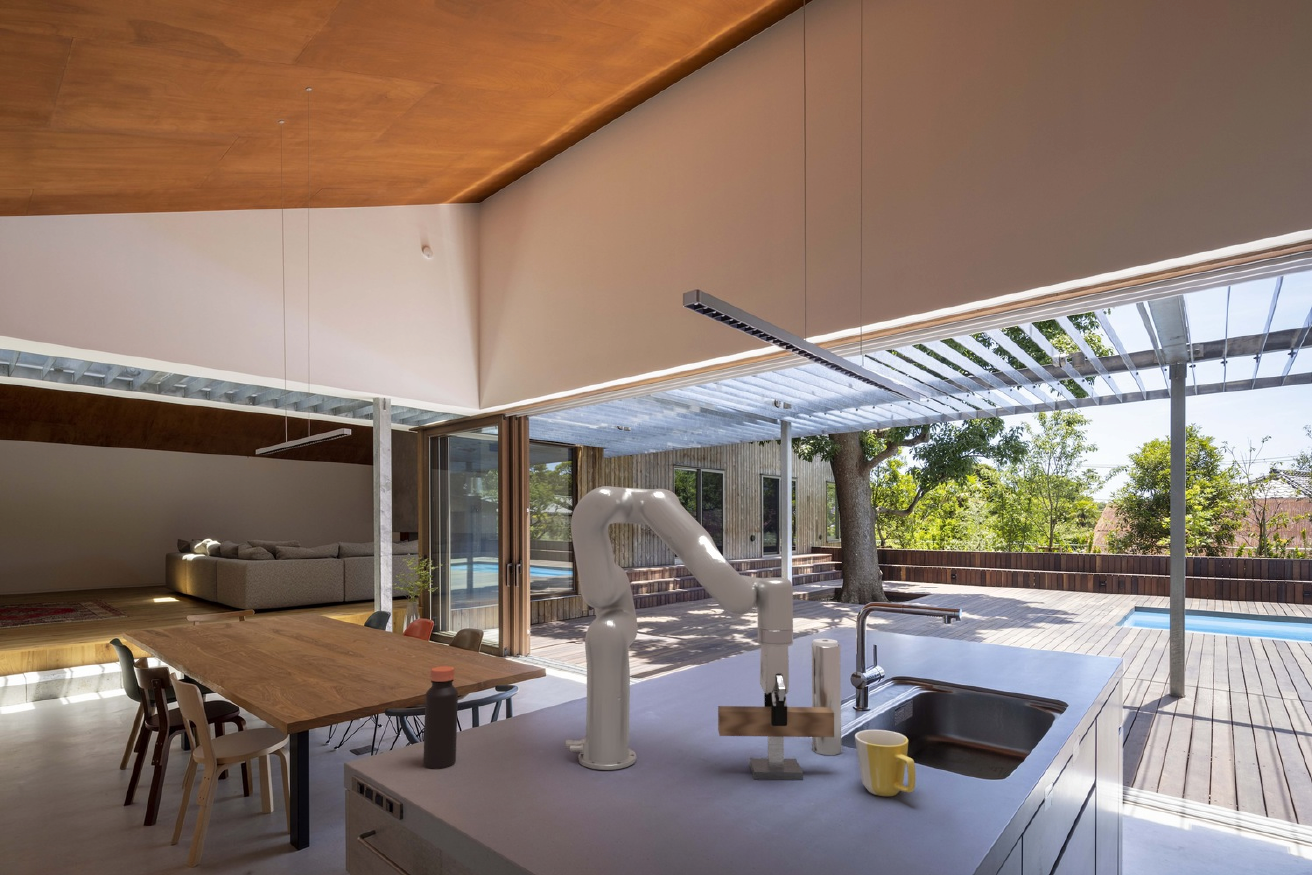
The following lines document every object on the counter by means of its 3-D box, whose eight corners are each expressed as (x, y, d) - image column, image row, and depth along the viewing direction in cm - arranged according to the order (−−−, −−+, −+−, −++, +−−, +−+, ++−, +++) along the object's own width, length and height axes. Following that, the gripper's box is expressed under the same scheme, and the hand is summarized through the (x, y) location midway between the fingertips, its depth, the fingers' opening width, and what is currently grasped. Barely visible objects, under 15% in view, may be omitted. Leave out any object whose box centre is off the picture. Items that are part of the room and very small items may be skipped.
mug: (846, 783, 150) (846, 730, 151) (892, 779, 152) (891, 727, 153) (879, 811, 137) (879, 752, 138) (929, 806, 139) (928, 749, 140)
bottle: (416, 765, 157) (419, 670, 159) (439, 756, 163) (442, 663, 165) (439, 771, 154) (443, 673, 156) (462, 761, 160) (465, 667, 162)
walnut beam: (719, 735, 154) (719, 711, 155) (718, 729, 158) (718, 705, 159) (834, 737, 154) (834, 712, 154) (829, 731, 158) (829, 707, 158)
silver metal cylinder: (842, 756, 165) (840, 643, 168) (812, 754, 167) (811, 641, 169) (840, 747, 172) (839, 638, 174) (812, 745, 173) (811, 636, 175)
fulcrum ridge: (754, 779, 151) (754, 739, 152) (749, 765, 159) (749, 727, 160) (803, 779, 151) (802, 739, 152) (795, 765, 159) (795, 727, 160)
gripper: (752, 629, 166) (752, 706, 165) (763, 644, 149) (763, 731, 148) (785, 629, 166) (786, 707, 165) (800, 644, 149) (801, 731, 148)
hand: (775, 718), depth 156 cm, fingers open, 9 cm apart
